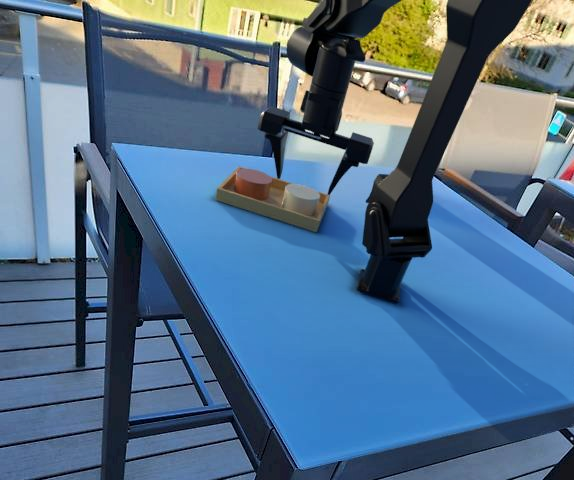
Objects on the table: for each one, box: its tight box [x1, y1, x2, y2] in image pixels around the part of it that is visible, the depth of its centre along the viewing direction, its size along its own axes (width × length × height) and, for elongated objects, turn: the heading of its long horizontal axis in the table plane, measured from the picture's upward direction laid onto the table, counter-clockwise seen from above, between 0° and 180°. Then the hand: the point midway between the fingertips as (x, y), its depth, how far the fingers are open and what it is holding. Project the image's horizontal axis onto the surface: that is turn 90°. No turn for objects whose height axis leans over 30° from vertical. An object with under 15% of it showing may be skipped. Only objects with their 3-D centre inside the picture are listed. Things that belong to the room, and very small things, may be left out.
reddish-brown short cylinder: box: [234, 168, 272, 200], centre depth 87 cm, size 6×6×3 cm
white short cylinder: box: [282, 183, 320, 216], centre depth 87 cm, size 6×6×3 cm
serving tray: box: [215, 166, 331, 233], centre depth 88 cm, size 13×18×2 cm
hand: (303, 186), depth 86 cm, fingers open, 9 cm apart
